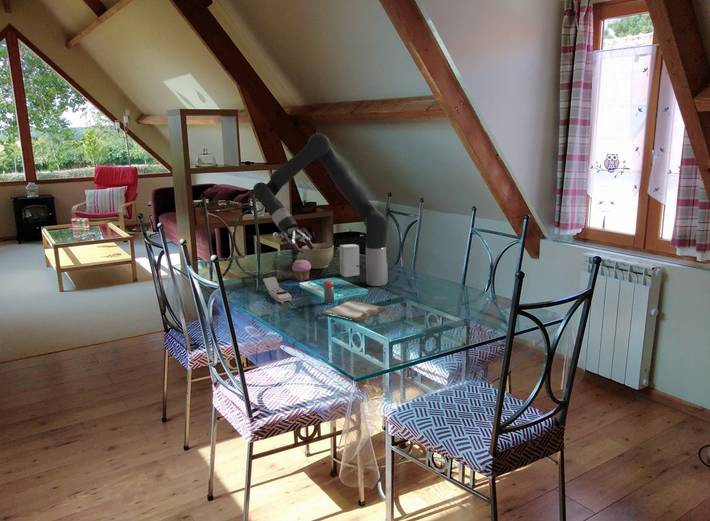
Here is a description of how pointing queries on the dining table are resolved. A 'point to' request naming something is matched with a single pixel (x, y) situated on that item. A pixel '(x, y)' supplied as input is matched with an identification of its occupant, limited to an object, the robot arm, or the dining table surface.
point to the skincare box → (349, 260)
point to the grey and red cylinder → (329, 291)
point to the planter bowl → (318, 255)
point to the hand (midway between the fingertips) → (305, 250)
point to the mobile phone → (276, 290)
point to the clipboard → (355, 310)
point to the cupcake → (301, 269)
